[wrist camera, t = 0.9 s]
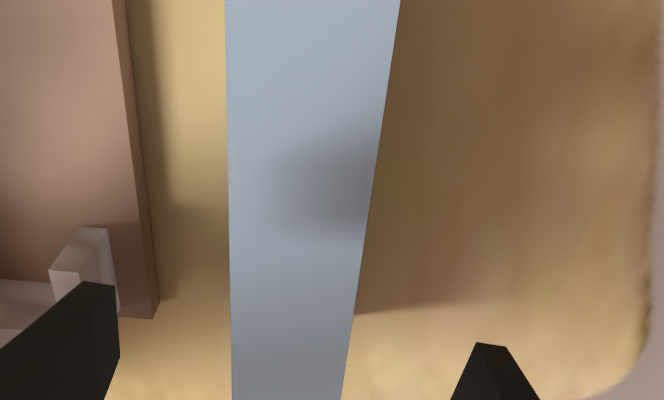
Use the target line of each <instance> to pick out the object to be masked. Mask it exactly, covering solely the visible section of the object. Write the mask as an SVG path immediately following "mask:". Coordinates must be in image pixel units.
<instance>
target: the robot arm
mask: <svg viewBox="0 0 664 400" xmlns="http://www.w3.org/2000/svg"><path fill="white" fill-rule="evenodd" d="M119 358H120V347H119V334H118V320H117V306H116V292H115V286H114V285H108V284H102V283H95V282H89V281H82V282H81V283H79V284H78V285H77V286H75V287H74V288H73V289H72V290H71V291H69V292H68V293H67V294H66V295H65V296H64V297H62V298H61V299H60V300H59V301H58V302H56V303H55V304H54V305H53V306H52V307H51V308H49V309H48V310H47V311H46V312H45V313H43V314H42V315H41V316H40V317H39V318H37V319H36V320H35V321H34V322H33V323H31V324H30V325H29V326H28V327H26V328H25V329H24V330H23V331H22V332H20V333H19V334H18V335H17V336H15V337H14V338H13V339H12V340H10V341H9V342H8V343H6V344H5V345H4V346H3V347H1V348H0V400H104V398H105V396H106V393H107V390H108V388H109V385H110V383H111V380H112V377H113V375H114V372H115V369H116V366H117V364H118V361H119ZM450 400H540V399H539V397H538V396H537V394H536V393H535V391H534V390H533V388H532V386H531V385H530V383H529V382H528V380H527V379H526V377H525V375H524V374H523V372H522V371H521V369H520V368H519V366H518V365H517V363H516V361H515V360H514V358H513V357H512V355H511V354H510V352H509V351H508V349H507V348H506V347H504V346H498V345H491V344H485V343H478V342H476V344H475V346H474V348H473V351H472V353H471V355H470V357H469V359H468V362H467V364H466V366H465V368H464V371H463V373H462V375H461V377H460V379H459V382H458V384H457V386H456V388H455V391H454V393H453V395H452V397H451V399H450Z"/></svg>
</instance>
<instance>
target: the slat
mask: <svg viewBox="0 0 664 400" xmlns="http://www.w3.org/2000/svg"><path fill="white" fill-rule="evenodd" d="M399 7H400V0H225V39H226V94H227V149H228V205H229V260H230V315H231V371H232V400H341V393H342V386H343V380H344V373H345V366H346V360H347V353H348V346H349V340H350V333H351V326H352V320H353V313H354V306H355V300H356V293H357V286H358V280H359V273H360V267H361V260H362V253H363V247H364V240H365V233H366V227H367V220H368V213H369V207H370V200H371V193H372V187H373V180H374V173H375V167H376V160H377V153H378V147H379V140H380V133H381V127H382V120H383V113H384V107H385V100H386V94H387V87H388V80H389V74H390V67H391V60H392V54H393V47H394V40H395V34H396V27H397V20H398V14H399Z"/></svg>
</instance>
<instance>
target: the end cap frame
mask: <svg viewBox="0 0 664 400" xmlns="http://www.w3.org/2000/svg"><path fill="white" fill-rule="evenodd" d="M82 281H89V282H95V283H102V284H108V285H114V286H115V292H116V306H117V316H122V317H133V318H144V319H153V317H154V314H155V312H156V310H157V307H158V305H159V303H160V301H159V292H158V283H157V275H156V266H155V257H154V249H153V240H152V231H151V223H150V214H149V206H148V197H147V188H146V180H145V171H144V162H143V154H142V145H141V136H140V128H139V119H138V110H137V102H136V93H135V84H134V76H133V67H132V58H131V50H130V41H129V32H128V24H127V15H126V6H125V0H0V347H3V346H4V345H5V344H6V343H8V342H9V341H10V340H12V339H13V338H14V337H15V336H17V335H18V334H19V333H20V332H22V331H23V330H24V329H25V328H26V327H28V326H29V325H30V324H31V323H33V322H34V321H35V320H36V319H37V318H39V317H40V316H41V315H42V314H43V313H45V312H46V311H47V310H48V309H49V308H51V307H52V306H53V305H54V304H55V303H56V302H58V301H59V300H60V299H61V298H62V297H64V296H65V295H66V294H67V293H68V292H69V291H71V290H72V289H73V288H74V287H75V286H77V285H78V284H79V283H81V282H82Z"/></svg>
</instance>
